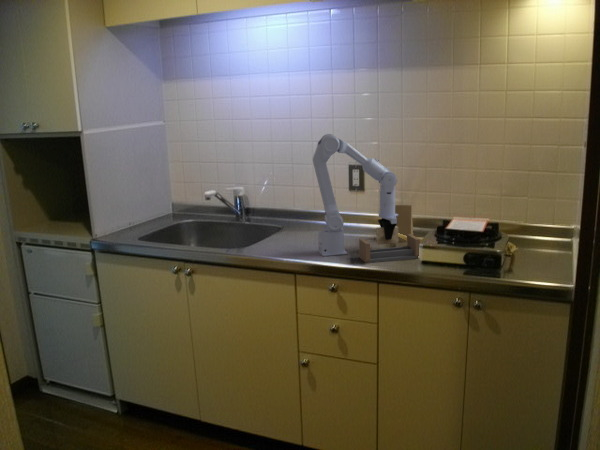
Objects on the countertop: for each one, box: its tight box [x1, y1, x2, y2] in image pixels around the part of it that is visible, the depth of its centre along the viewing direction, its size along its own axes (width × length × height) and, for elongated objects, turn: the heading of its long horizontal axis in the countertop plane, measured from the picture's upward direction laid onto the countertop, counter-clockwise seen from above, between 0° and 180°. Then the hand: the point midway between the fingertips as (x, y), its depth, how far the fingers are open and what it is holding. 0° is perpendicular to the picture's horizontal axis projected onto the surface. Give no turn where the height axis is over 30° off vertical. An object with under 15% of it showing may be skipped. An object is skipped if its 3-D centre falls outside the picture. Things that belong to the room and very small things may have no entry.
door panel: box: [375, 226, 399, 245], centre depth 215 cm, size 8×2×6 cm, turn 101°
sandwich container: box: [395, 204, 414, 242], centre depth 234 cm, size 9×15×15 cm, turn 165°
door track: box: [358, 234, 421, 264], centre depth 205 cm, size 20×8×7 cm, turn 101°
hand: (387, 238), depth 215 cm, fingers closed on door panel, 2 cm apart
